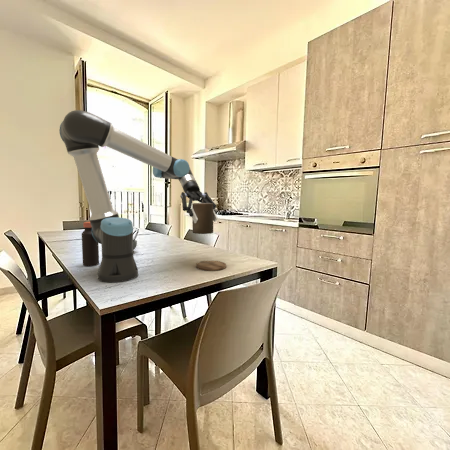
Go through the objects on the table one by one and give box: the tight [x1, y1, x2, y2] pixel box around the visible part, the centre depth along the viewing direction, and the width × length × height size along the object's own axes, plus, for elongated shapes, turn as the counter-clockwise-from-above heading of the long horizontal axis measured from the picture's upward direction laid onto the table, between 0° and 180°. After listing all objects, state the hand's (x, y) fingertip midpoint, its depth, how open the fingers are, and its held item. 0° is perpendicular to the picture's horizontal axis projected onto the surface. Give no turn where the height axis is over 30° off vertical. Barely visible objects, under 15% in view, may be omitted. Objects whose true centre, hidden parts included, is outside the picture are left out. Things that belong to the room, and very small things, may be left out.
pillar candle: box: [191, 200, 214, 235], centre depth 119 cm, size 10×10×15 cm
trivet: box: [195, 260, 227, 272], centre depth 121 cm, size 14×14×1 cm
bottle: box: [81, 221, 100, 267], centre depth 120 cm, size 7×7×20 cm
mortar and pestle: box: [133, 239, 138, 254], centre depth 147 cm, size 11×9×12 cm
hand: (206, 220), depth 116 cm, fingers closed on pillar candle, 10 cm apart
